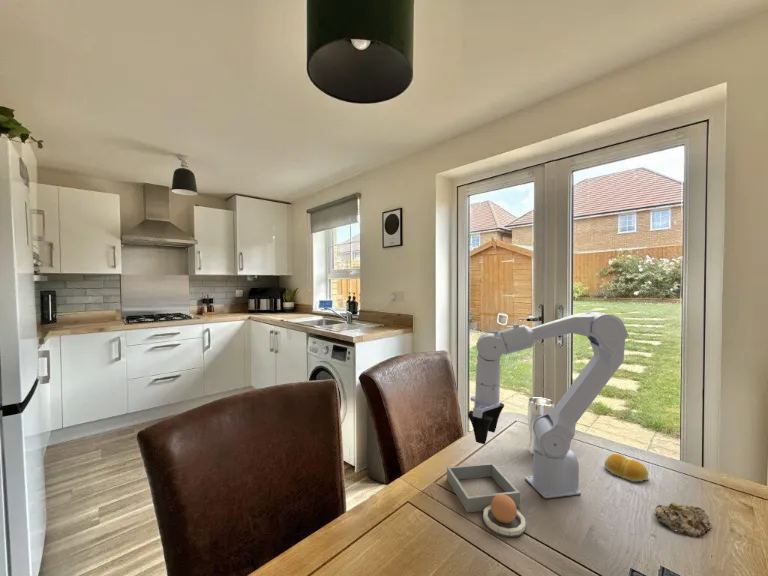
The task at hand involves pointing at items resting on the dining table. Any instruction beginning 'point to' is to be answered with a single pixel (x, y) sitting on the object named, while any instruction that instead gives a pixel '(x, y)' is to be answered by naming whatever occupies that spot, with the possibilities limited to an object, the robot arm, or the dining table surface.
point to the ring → (504, 524)
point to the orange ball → (503, 508)
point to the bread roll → (626, 468)
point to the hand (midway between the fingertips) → (485, 436)
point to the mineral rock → (683, 518)
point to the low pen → (474, 472)
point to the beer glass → (536, 415)
